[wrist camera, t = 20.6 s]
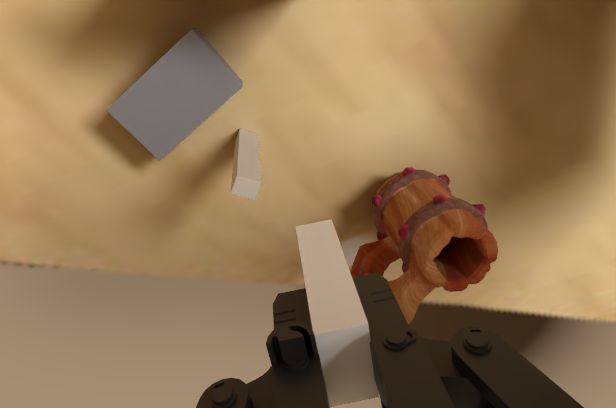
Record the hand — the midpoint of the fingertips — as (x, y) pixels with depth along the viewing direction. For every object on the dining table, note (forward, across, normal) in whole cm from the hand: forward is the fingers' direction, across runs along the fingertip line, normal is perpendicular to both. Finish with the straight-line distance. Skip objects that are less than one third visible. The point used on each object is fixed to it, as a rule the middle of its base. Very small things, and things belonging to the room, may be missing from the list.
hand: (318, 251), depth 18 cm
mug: (+28, +9, -13) cm, 32 cm away
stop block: (+27, -9, +4) cm, 29 cm away
